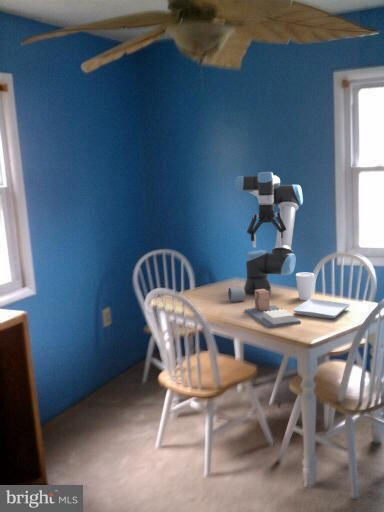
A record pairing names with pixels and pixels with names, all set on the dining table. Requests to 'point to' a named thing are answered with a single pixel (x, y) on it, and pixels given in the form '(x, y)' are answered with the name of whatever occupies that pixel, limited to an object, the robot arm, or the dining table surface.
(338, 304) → the salad plate
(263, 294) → the reddish brown block
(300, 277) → the foam cup
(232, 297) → the grey cylinder
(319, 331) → the dining table surface
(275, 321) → the board
